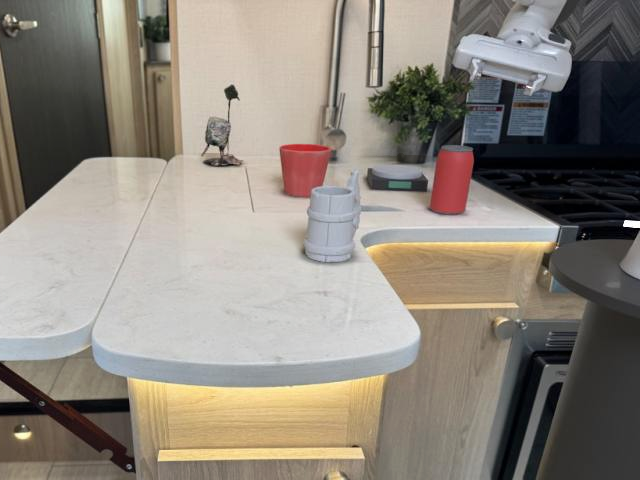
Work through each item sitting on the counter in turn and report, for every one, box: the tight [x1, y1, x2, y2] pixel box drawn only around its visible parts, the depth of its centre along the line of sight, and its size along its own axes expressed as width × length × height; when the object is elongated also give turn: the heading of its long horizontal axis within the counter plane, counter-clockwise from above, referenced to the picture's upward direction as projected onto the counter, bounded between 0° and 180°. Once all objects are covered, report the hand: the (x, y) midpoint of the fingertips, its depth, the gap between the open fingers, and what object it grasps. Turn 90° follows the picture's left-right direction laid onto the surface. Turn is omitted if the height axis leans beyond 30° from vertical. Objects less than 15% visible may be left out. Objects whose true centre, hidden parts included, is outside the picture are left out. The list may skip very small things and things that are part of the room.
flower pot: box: [279, 143, 332, 198], centre depth 119 cm, size 11×11×10 cm
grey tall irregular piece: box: [200, 84, 243, 166], centre depth 145 cm, size 8×11×20 cm
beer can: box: [429, 144, 475, 216], centre depth 105 cm, size 7×7×12 cm
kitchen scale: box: [366, 164, 429, 192], centre depth 128 cm, size 12×12×4 cm
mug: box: [303, 169, 363, 263], centre depth 84 cm, size 8×12×12 cm, turn 139°
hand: (501, 85), depth 100 cm, fingers open, 8 cm apart
